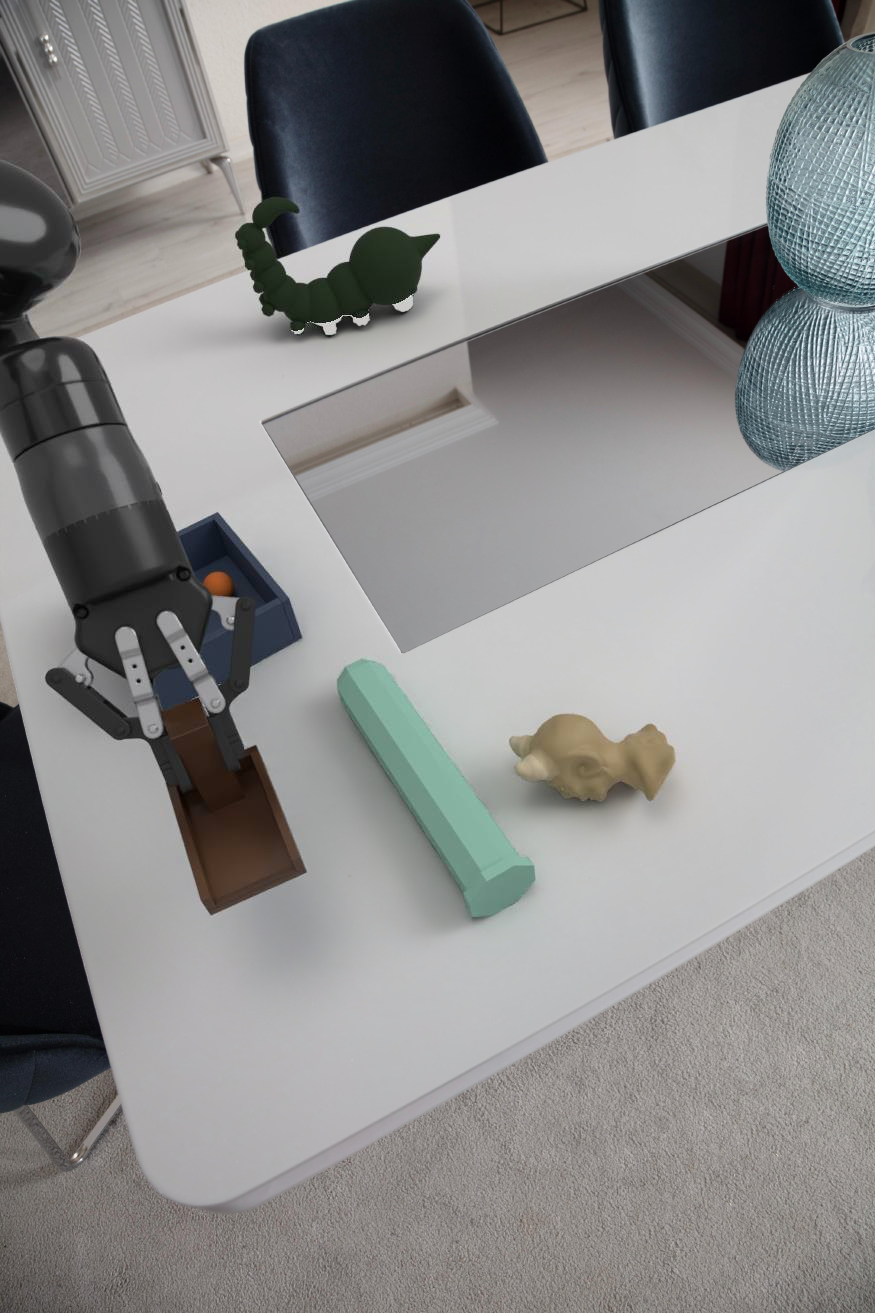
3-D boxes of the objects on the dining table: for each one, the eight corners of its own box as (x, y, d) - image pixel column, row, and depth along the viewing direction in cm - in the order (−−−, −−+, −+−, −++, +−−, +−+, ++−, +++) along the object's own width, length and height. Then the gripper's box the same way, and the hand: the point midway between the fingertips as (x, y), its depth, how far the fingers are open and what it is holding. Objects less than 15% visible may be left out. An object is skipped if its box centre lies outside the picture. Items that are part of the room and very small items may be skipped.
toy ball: (214, 588, 94) (237, 601, 93) (194, 597, 91) (217, 611, 91) (219, 562, 92) (242, 576, 91) (198, 571, 90) (222, 585, 89)
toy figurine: (281, 367, 123) (460, 310, 123) (229, 229, 108) (432, 164, 108) (272, 332, 129) (443, 277, 129) (221, 196, 114) (414, 135, 114)
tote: (154, 720, 84) (132, 682, 80) (95, 621, 93) (72, 582, 89) (302, 638, 89) (289, 597, 84) (232, 551, 98) (217, 511, 93)
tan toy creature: (685, 775, 68) (526, 746, 67) (653, 843, 72) (503, 817, 71) (666, 707, 75) (521, 680, 74) (638, 773, 78) (500, 748, 78)
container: (329, 651, 79) (479, 877, 64) (390, 641, 82) (547, 854, 67) (319, 702, 83) (459, 927, 67) (377, 691, 86) (524, 904, 70)
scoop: (307, 872, 58) (273, 798, 52) (210, 916, 57) (163, 845, 50) (263, 761, 64) (228, 680, 57) (175, 798, 63) (128, 720, 56)
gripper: (-31, 552, 51) (94, 838, 53) (210, 468, 54) (322, 742, 55) (2, 563, 58) (111, 813, 60) (213, 488, 61) (311, 730, 63)
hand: (212, 778), depth 58 cm, fingers closed on scoop, 2 cm apart
